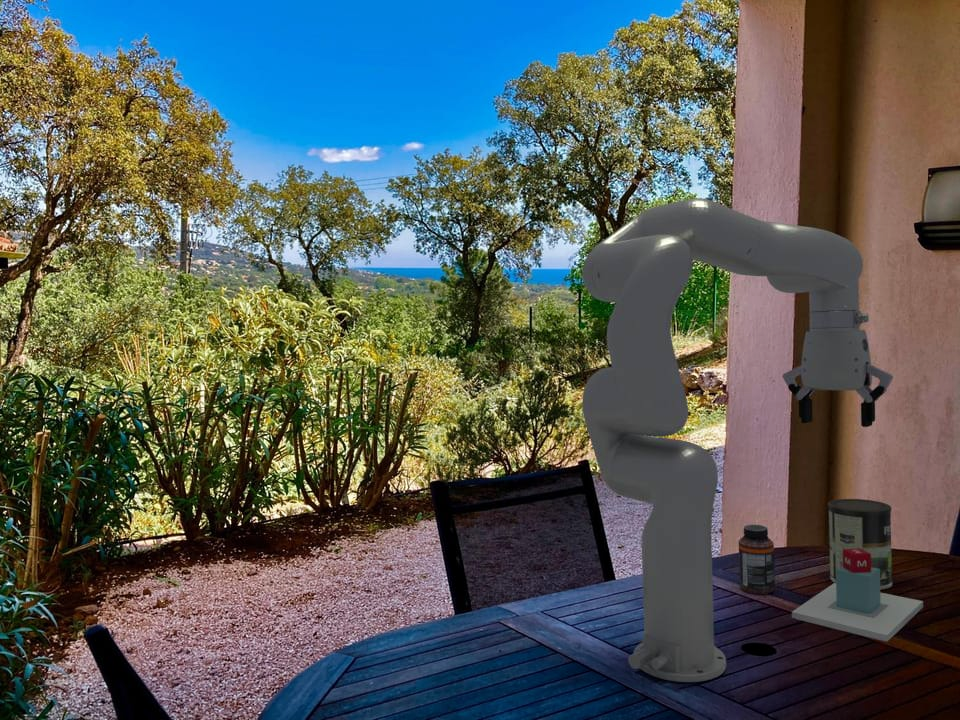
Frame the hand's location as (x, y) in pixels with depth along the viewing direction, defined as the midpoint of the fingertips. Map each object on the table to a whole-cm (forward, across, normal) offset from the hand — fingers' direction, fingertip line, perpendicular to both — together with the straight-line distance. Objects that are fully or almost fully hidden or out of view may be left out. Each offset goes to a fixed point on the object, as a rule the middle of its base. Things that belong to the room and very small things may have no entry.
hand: (836, 424), depth 124 cm
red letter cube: (+23, -4, +3) cm, 24 cm away
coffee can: (+31, +1, -13) cm, 33 cm away
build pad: (+30, -4, +3) cm, 31 cm away
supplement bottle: (+31, +13, +3) cm, 33 cm away
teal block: (+29, -4, +3) cm, 30 cm away
